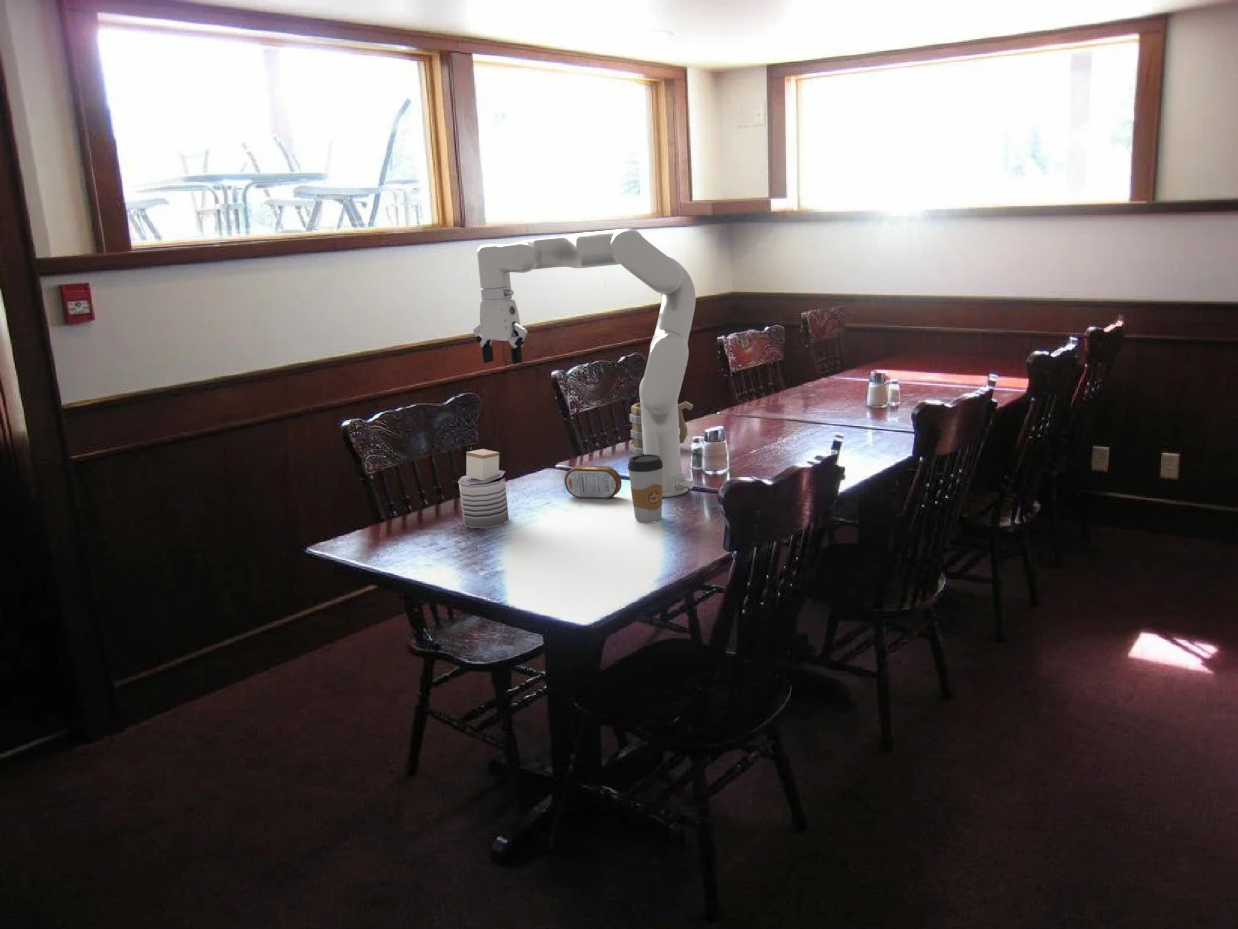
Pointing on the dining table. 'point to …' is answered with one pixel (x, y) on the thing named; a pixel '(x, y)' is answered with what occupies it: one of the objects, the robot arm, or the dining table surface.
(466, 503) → the can
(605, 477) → the tin
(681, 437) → the tankard
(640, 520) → the coffee cup
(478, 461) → the cream block
